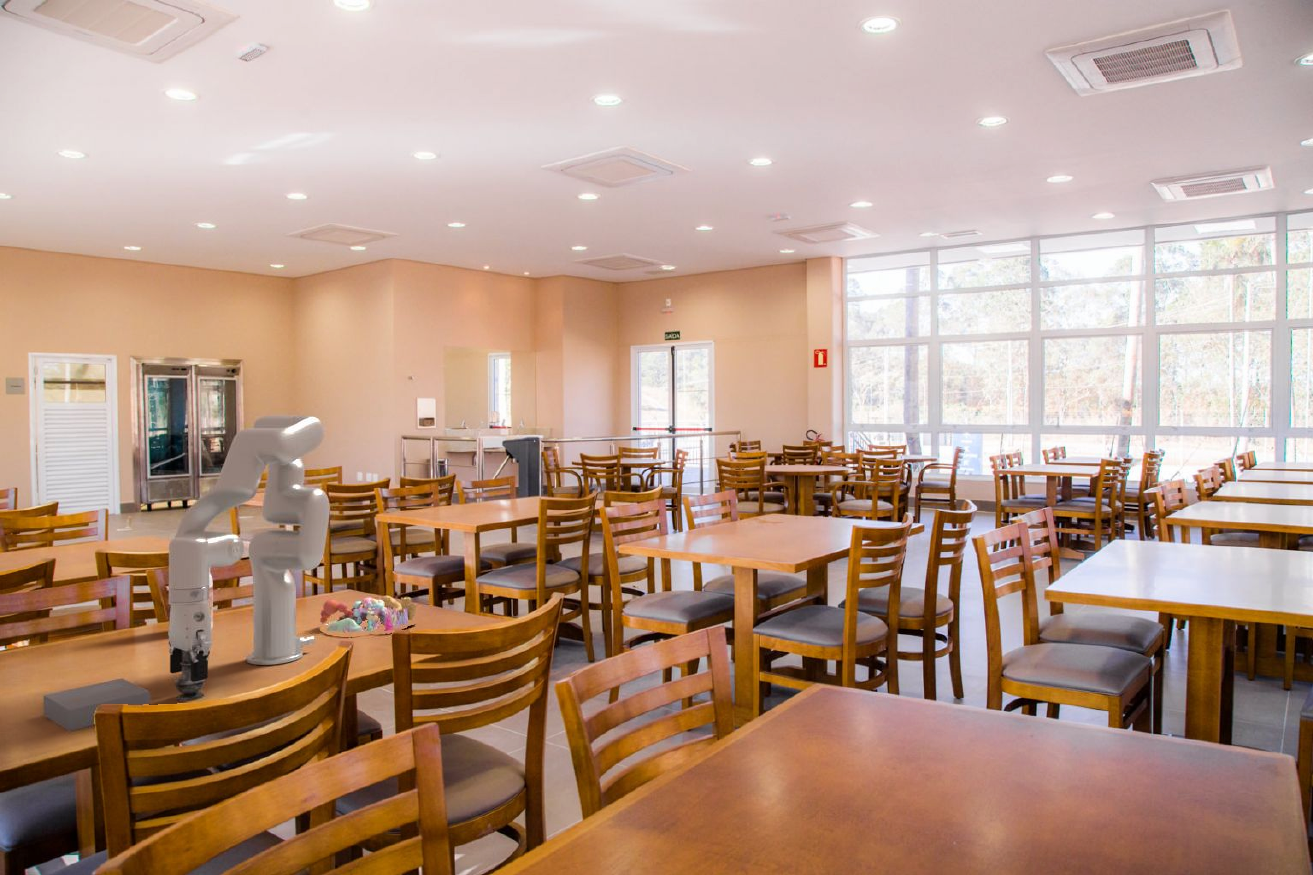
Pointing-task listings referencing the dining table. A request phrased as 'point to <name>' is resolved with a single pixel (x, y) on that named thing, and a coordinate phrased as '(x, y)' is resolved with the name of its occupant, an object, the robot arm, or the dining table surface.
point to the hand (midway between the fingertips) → (188, 675)
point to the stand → (90, 702)
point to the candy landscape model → (369, 614)
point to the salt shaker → (188, 681)
